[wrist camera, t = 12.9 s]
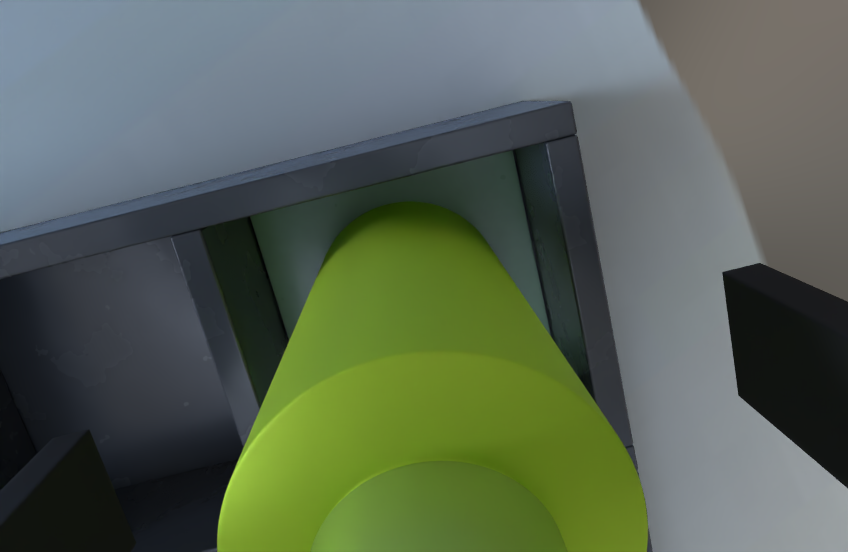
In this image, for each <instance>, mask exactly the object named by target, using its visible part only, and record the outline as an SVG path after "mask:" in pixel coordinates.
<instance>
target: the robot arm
mask: <svg viewBox="0 0 848 552" xmlns="http://www.w3.org/2000/svg"><path fill="white" fill-rule="evenodd" d="M722 273H723V281H724V289H725V296H726V304H727V312H728V319H729V327H730V334H731V342H732V350H733V357H734V365H735V373H736V380H737V388H738V395H739V396H740V397H741V398H742V399H743V400H744V401H746V402H747V403H748V404H749V405H750V406H752V407H753V408H754V409H755V410H756V411H757V412H759V413H760V414H761V415H762V416H763V417H764V418H766V419H767V420H768V421H769V422H770V423H772V424H773V425H774V426H775V427H776V428H777V429H779V430H780V431H781V432H782V433H783V434H784V435H786V436H787V437H788V438H789V439H790V440H792V441H793V442H794V443H795V444H796V445H797V446H799V447H800V448H801V449H802V450H803V451H804V452H806V453H807V454H808V455H809V456H810V457H812V458H813V459H814V460H815V461H816V462H817V463H819V464H820V465H821V466H822V467H823V468H824V469H826V470H827V471H828V472H829V473H830V474H832V475H833V476H834V477H835V478H836V479H837V480H839V481H840V482H841V483H842V484H843V485H845V486H846V487H847V488H848V302H847V301H844V300H843V299H840V298H838V297H836V296H833V295H831V294H829V293H827V292H824V291H822V290H820V289H818V288H815V287H813V286H811V285H809V284H806V283H804V282H802V281H800V280H797V279H795V278H793V277H791V276H788V275H786V274H784V273H781V272H779V271H777V270H775V269H772V268H770V267H768V266H766V265H763V264H761V263H758V264H754V265H750V266H746V267H742V268H737V269H733V270H729V271H725V272H722ZM135 544H136V541H135V538H134V536H133V533H132V531H131V529H130V526H129V524H128V521H127V519H126V517H125V514H124V512H123V509H122V507H121V504H120V502H119V500H118V497H117V495H116V492H115V490H114V488H113V485H112V483H111V480H110V478H109V476H108V473H107V471H106V468H105V466H104V464H103V461H102V459H101V456H100V454H99V452H98V449H97V447H96V444H95V442H94V440H93V437H92V435H91V432H90V430H89V429H87V430H83V431H79V432H75V433H71V434H67V435H63V436H59V437H55V438H52V439H51V440H50V441H49V442H48V443H47V444H46V445H45V446H44V447H43V448H42V449H41V450H40V451H39V452H38V453H37V454H36V455H35V456H34V457H33V458H32V459H31V460H30V461H29V462H28V463H27V464H26V465H25V466H24V467H23V468H22V469H21V470H20V471H19V472H18V473H17V474H16V475H15V476H14V477H13V478H12V479H11V480H10V481H9V482H8V483H7V484H6V485H5V486H4V487H3V488H2V489H1V490H0V552H131V551H132V550H133V548H134V546H135Z"/></svg>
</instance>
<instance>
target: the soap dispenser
mask: <svg viewBox="0 0 848 552" xmlns="http://www.w3.org/2000/svg"><path fill="white" fill-rule="evenodd" d="M647 544H648V520H647V510H646V503H645V498H644V493H643V489H642V486H641V482H640V479H639V476H638V474H637V471H636V469H635V466H634V464H633V462H632V460H631V458H630V456H629V454H628V452H627V450H626V448H625V446H624V445H623V443H622V441H621V440H620V438H619V437H618V435H617V434H616V432H615V431H614V429H613V428H612V426H611V425H610V423H609V422H608V420H607V419H606V417H605V416H604V414H603V413H602V411H601V410H600V409H599V407H598V406H597V404H596V403H595V401H594V400H593V398H592V397H591V395H590V394H589V392H588V391H587V389H586V388H585V386H584V385H583V383H582V382H581V380H580V379H579V377H578V376H577V375H576V373H575V372H574V370H573V369H572V367H571V366H570V364H569V363H568V361H567V360H566V358H565V357H564V355H563V354H562V352H561V351H560V349H559V348H558V346H557V345H556V343H555V342H554V340H553V339H552V338H551V336H550V335H549V333H548V332H547V330H546V329H545V327H544V326H543V324H542V323H541V321H540V320H539V318H538V317H537V315H536V314H535V312H534V311H533V309H532V308H531V306H530V305H529V304H528V302H527V301H526V299H525V298H524V296H523V295H522V293H521V292H520V290H519V289H518V287H517V286H516V284H515V283H514V281H513V280H512V278H511V277H510V275H509V274H508V272H507V271H506V270H505V268H504V267H503V265H502V264H501V262H500V261H499V259H498V258H497V256H496V255H495V253H494V252H493V250H492V249H491V247H490V246H489V244H488V243H487V241H486V240H485V239H484V237H483V236H482V235H481V233H480V232H479V231H478V230H477V229H476V228H475V227H474V226H473V225H472V224H471V223H469V222H468V221H467V220H465V219H464V218H463V217H461V216H460V215H458V214H456V213H454V212H453V211H450V210H448V209H446V208H443V207H441V206H438V205H434V204H430V203H424V202H413V201H408V202H396V203H391V204H387V205H383V206H380V207H377V208H375V209H372V210H370V211H368V212H366V213H364V214H362V215H361V216H359V217H358V218H356V219H355V220H354V221H352V222H351V223H350V224H349V225H348V226H346V227H345V228H344V229H343V230H342V231H341V233H340V234H339V235H338V236H337V237H336V239H335V240H334V242H333V243H332V245H331V246H330V248H329V250H328V252H327V254H326V256H325V258H324V261H323V263H322V265H321V268H320V270H319V272H318V275H317V277H316V279H315V282H314V284H313V286H312V289H311V291H310V293H309V296H308V298H307V300H306V303H305V305H304V307H303V310H302V312H301V314H300V317H299V319H298V322H297V324H296V326H295V329H294V331H293V333H292V336H291V338H290V340H289V343H288V345H287V347H286V350H285V352H284V354H283V357H282V359H281V361H280V364H279V366H278V368H277V371H276V373H275V375H274V378H273V380H272V382H271V385H270V387H269V389H268V392H267V394H266V396H265V399H264V401H263V403H262V406H261V408H260V410H259V413H258V415H257V418H256V420H255V422H254V425H253V427H252V429H251V432H250V434H249V436H248V439H247V441H246V443H245V446H244V448H243V450H242V453H241V455H240V457H239V460H238V462H237V464H236V467H235V469H234V471H233V474H232V476H231V479H230V481H229V484H228V486H227V489H226V492H225V495H224V499H223V503H222V507H221V512H220V517H219V523H218V533H217V552H647Z"/></svg>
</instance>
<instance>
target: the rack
mask: <svg viewBox="0 0 848 552" xmlns="http://www.w3.org/2000/svg"><path fill="white" fill-rule="evenodd" d="M576 132H577V130H576V124H575V119H574V113H573V108H572V103H571V102H570V101H521V102H517V103H513V104H509V105H505V106H501V107H497V108H493V109H489V110H485V111H481V112H477V113H473V114H469V115H465V116H461V117H457V118H453V119H450V120H446V121H442V122H438V123H434V124H430V125H426V126H422V127H418V128H414V129H410V130H406V131H402V132H398V133H394V134H390V135H386V136H382V137H378V138H374V139H370V140H366V141H362V142H358V143H354V144H350V145H347V146H343V147H339V148H335V149H331V150H327V151H323V152H319V153H315V154H311V155H307V156H303V157H299V158H295V159H291V160H287V161H283V162H279V163H275V164H271V165H267V166H263V167H259V168H255V169H251V170H247V171H243V172H240V173H236V174H232V175H228V176H224V177H220V178H216V179H212V180H208V181H204V182H200V183H196V184H192V185H188V186H184V187H180V188H176V189H172V190H168V191H164V192H160V193H156V194H152V195H148V196H144V197H140V198H137V199H133V200H129V201H125V202H121V203H117V204H113V205H109V206H105V207H101V208H97V209H93V210H89V211H85V212H81V213H77V214H73V215H69V216H65V217H61V218H57V219H53V220H49V221H45V222H41V223H37V224H34V225H30V226H26V227H22V228H18V229H14V230H10V231H6V232H2V233H0V490H1V489H2V488H3V487H4V486H5V485H6V484H7V483H8V482H9V481H10V480H11V479H12V478H13V477H14V476H15V475H16V474H17V473H18V472H19V471H20V470H21V469H22V468H23V467H24V466H25V465H26V464H27V463H28V462H29V461H30V460H31V459H32V458H33V457H34V456H35V455H36V454H37V453H38V452H39V451H40V450H41V449H42V448H43V447H44V446H45V445H46V444H47V443H48V442H49V441H50V440H51V439H52V438H55V437H59V436H63V435H67V434H71V433H75V432H79V431H83V430H87V429H89V430H90V432H91V435H92V437H93V440H94V442H95V444H96V447H97V449H98V452H99V454H100V456H101V459H102V461H103V464H104V466H105V468H106V471H107V473H108V476H109V478H110V480H111V483H112V485H113V488H114V490H115V492H116V495H117V497H118V500H119V502H120V504H121V507H122V509H123V512H124V514H125V517H126V519H127V521H128V524H129V526H130V529H131V531H132V533H133V536H134V538H135V541H136V544H135V546H134V548H133V550H132V551H131V552H217V533H218V523H219V517H220V512H221V507H222V503H223V499H224V495H225V492H226V489H227V486H228V484H229V481H230V479H231V476H232V474H233V471H234V469H235V467H236V464H237V462H238V460H239V457H240V455H241V453H242V450H243V448H244V446H245V443H246V441H247V439H248V436H249V434H250V432H251V429H252V427H253V425H254V422H255V420H256V418H257V415H258V413H259V410H260V408H261V406H262V403H263V401H264V399H265V396H266V394H267V392H268V389H269V387H270V385H271V382H272V380H273V378H274V375H275V373H276V371H277V368H278V366H279V364H280V361H281V359H282V357H283V354H284V352H285V350H286V347H287V345H288V343H289V340H290V338H291V336H292V333H293V331H294V329H295V326H296V324H297V322H298V319H299V317H300V314H301V312H302V310H303V307H304V305H305V303H306V300H307V298H308V296H309V293H310V291H311V289H312V286H313V284H314V282H315V279H316V277H317V275H318V272H319V270H320V268H321V265H322V263H323V261H324V258H325V256H326V254H327V252H328V250H329V248H330V246H331V245H332V243H333V242H334V240H335V239H336V237H337V236H338V235H339V234H340V233H341V231H342V230H343V229H344V228H345V227H346V226H348V225H349V224H350V223H351V222H352V221H354V220H355V219H356V218H358V217H359V216H361V215H362V214H364V213H366V212H368V211H370V210H372V209H375V208H377V207H380V206H383V205H387V204H391V203H396V202H408V201H413V202H424V203H430V204H434V205H438V206H441V207H443V208H446V209H448V210H450V211H453V212H454V213H456V214H458V215H460V216H461V217H463V218H464V219H465V220H467V221H468V222H469V223H471V224H472V225H473V226H474V227H475V228H476V229H477V230H478V231H479V232H480V233H481V235H482V236H483V237H484V239H485V240H486V241H487V243H488V244H489V246H490V247H491V249H492V250H493V252H494V253H495V255H496V256H497V258H498V259H499V261H500V262H501V264H502V265H503V267H504V268H505V270H506V271H507V272H508V274H509V275H510V277H511V278H512V280H513V281H514V283H515V284H516V286H517V287H518V289H519V290H520V292H521V293H522V295H523V296H524V298H525V299H526V301H527V302H528V304H529V305H530V306H531V308H532V309H533V311H534V312H535V314H536V315H537V317H538V318H539V320H540V321H541V323H542V324H543V326H544V327H545V329H546V330H547V332H548V333H549V335H550V336H551V338H552V339H553V340H554V342H555V343H556V345H557V346H558V348H559V349H560V351H561V352H562V354H563V355H564V357H565V358H566V360H567V361H568V363H569V364H570V366H571V367H572V369H573V370H574V372H575V373H576V375H577V376H578V377H579V379H580V380H581V382H582V383H583V385H584V386H585V388H586V389H587V391H588V392H589V394H590V395H591V397H592V398H593V400H594V401H595V403H596V404H597V406H598V407H599V409H600V410H601V411H602V413H603V414H604V416H605V417H606V419H607V420H608V422H609V423H610V425H611V426H612V428H613V429H614V431H615V432H616V434H617V435H618V437H619V438H620V440H621V441H622V443H623V445H624V446H625V448H626V450H627V452H628V454H629V456H630V458H631V460H632V462H633V464H634V466H635V469H636V471H637V474H638V476H639V473H638V467H637V461H636V456H635V450H634V446H633V440H632V435H631V429H630V424H629V418H628V413H627V407H626V402H625V396H624V391H623V385H622V379H621V374H620V368H619V363H618V357H617V352H616V346H615V341H614V335H613V330H612V324H611V319H610V313H609V307H608V302H607V296H606V291H605V285H604V280H603V274H602V269H601V263H600V258H599V252H598V247H597V241H596V236H595V230H594V224H593V219H592V213H591V208H590V202H589V197H588V191H587V186H586V180H585V175H584V169H583V164H582V158H581V152H580V147H579V141H578V137H577V135H575V134H576ZM647 552H653V551H652V545H651V540H650V534H649V529H648V544H647Z"/></svg>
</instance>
